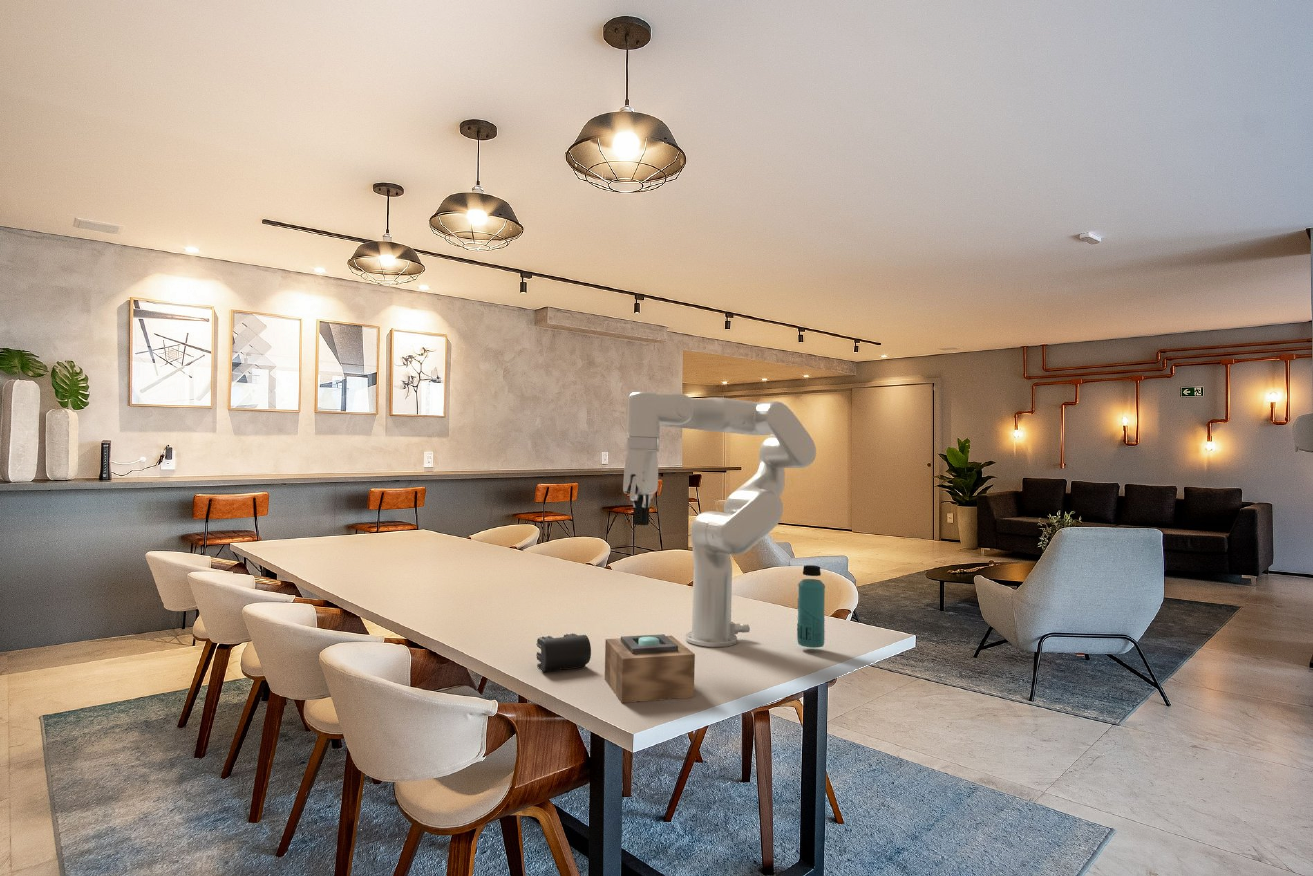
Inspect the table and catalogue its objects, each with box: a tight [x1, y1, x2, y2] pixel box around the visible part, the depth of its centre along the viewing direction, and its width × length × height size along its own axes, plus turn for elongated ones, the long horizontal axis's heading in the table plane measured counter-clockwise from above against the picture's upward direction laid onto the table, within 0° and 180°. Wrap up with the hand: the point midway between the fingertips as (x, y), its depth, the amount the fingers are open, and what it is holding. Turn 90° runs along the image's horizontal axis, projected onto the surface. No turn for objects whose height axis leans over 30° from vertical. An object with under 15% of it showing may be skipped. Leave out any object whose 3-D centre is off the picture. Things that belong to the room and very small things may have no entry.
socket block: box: [604, 633, 696, 704], centre depth 137 cm, size 14×14×9 cm
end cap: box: [535, 633, 592, 673], centre depth 149 cm, size 10×7×7 cm
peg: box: [639, 637, 659, 646], centre depth 137 cm, size 4×4×9 cm
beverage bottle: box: [796, 564, 826, 649], centre depth 167 cm, size 6×7×20 cm
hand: (641, 524), depth 163 cm, fingers closed
